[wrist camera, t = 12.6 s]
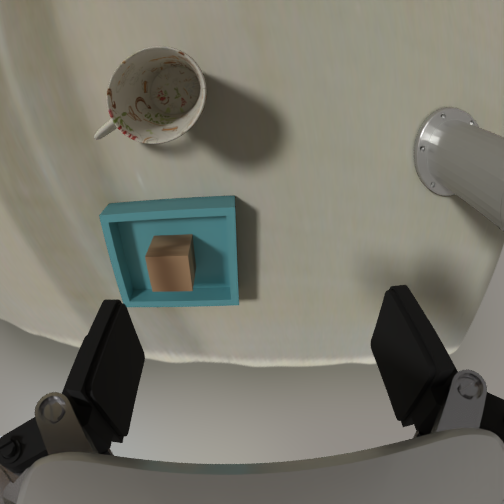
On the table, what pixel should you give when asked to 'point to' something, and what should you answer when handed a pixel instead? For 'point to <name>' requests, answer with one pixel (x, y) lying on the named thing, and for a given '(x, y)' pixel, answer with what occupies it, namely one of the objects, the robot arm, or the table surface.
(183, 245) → the block
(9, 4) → the table surface
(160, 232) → the tray
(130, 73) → the mug
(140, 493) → the robot arm
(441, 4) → the table surface
